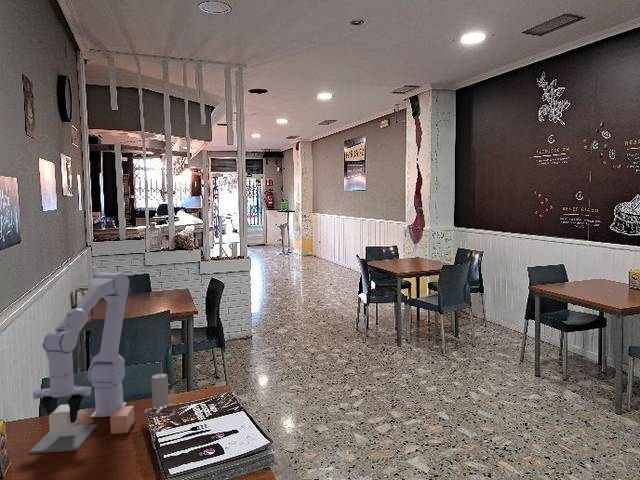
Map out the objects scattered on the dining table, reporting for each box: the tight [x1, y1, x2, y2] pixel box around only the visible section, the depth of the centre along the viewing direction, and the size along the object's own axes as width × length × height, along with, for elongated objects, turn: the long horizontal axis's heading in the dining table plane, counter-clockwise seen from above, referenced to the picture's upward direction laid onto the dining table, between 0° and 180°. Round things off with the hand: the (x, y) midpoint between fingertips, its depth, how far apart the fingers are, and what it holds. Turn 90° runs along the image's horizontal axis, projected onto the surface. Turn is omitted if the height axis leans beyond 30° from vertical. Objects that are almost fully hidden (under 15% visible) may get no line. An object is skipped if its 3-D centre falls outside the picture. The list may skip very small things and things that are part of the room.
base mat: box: [28, 423, 98, 455], centre depth 129 cm, size 14×12×1 cm
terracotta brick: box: [109, 405, 135, 434], centre depth 135 cm, size 7×4×5 cm, turn 6°
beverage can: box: [150, 372, 170, 409], centre depth 144 cm, size 5×5×12 cm
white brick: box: [48, 404, 79, 434], centre depth 128 cm, size 7×4×5 cm, turn 6°
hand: (64, 421), depth 128 cm, fingers closed on white brick, 4 cm apart
